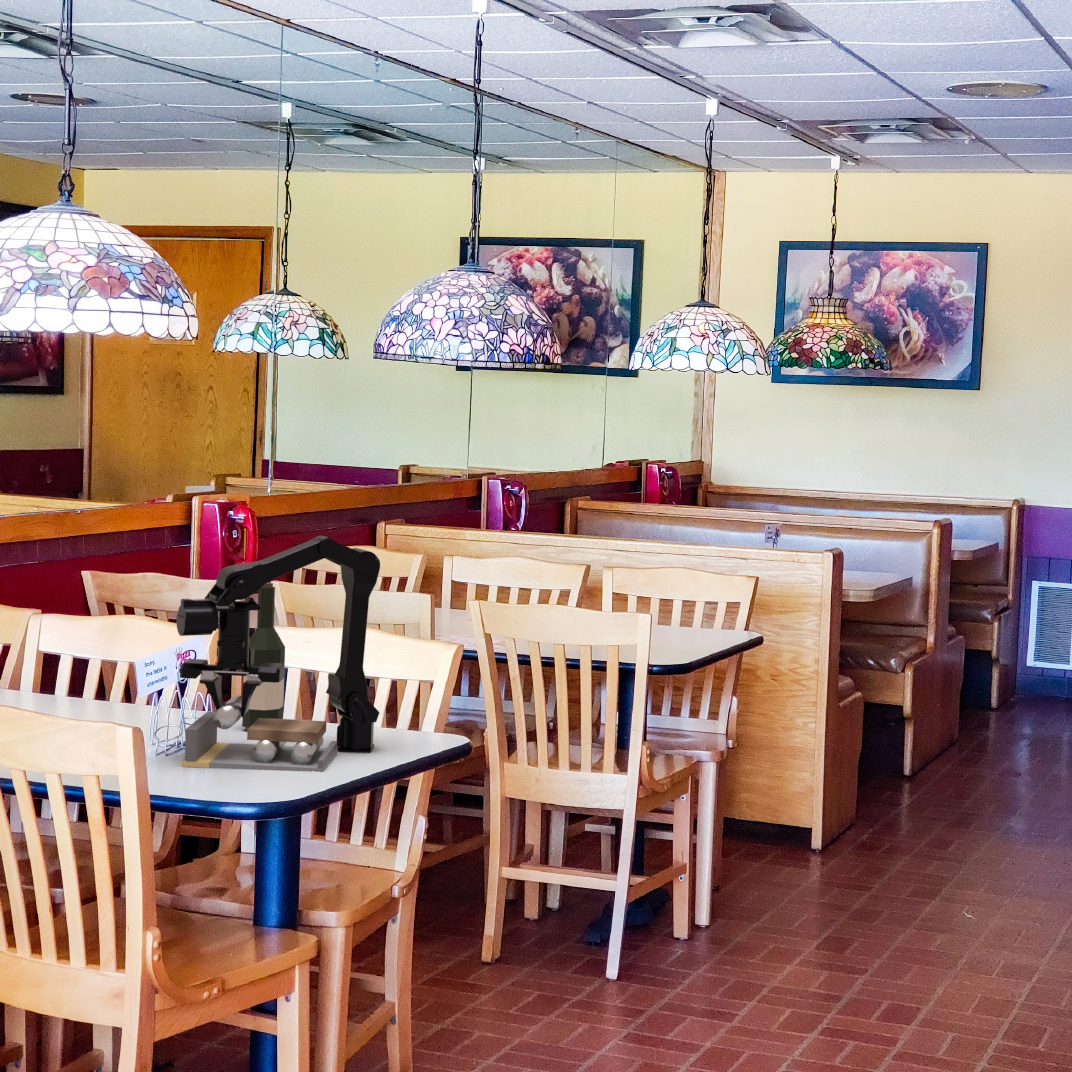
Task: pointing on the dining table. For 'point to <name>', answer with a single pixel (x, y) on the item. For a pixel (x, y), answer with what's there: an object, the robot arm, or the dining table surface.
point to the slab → (286, 730)
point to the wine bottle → (270, 651)
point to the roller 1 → (229, 713)
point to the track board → (241, 752)
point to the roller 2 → (267, 750)
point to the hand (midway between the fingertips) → (231, 715)
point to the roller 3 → (305, 751)
